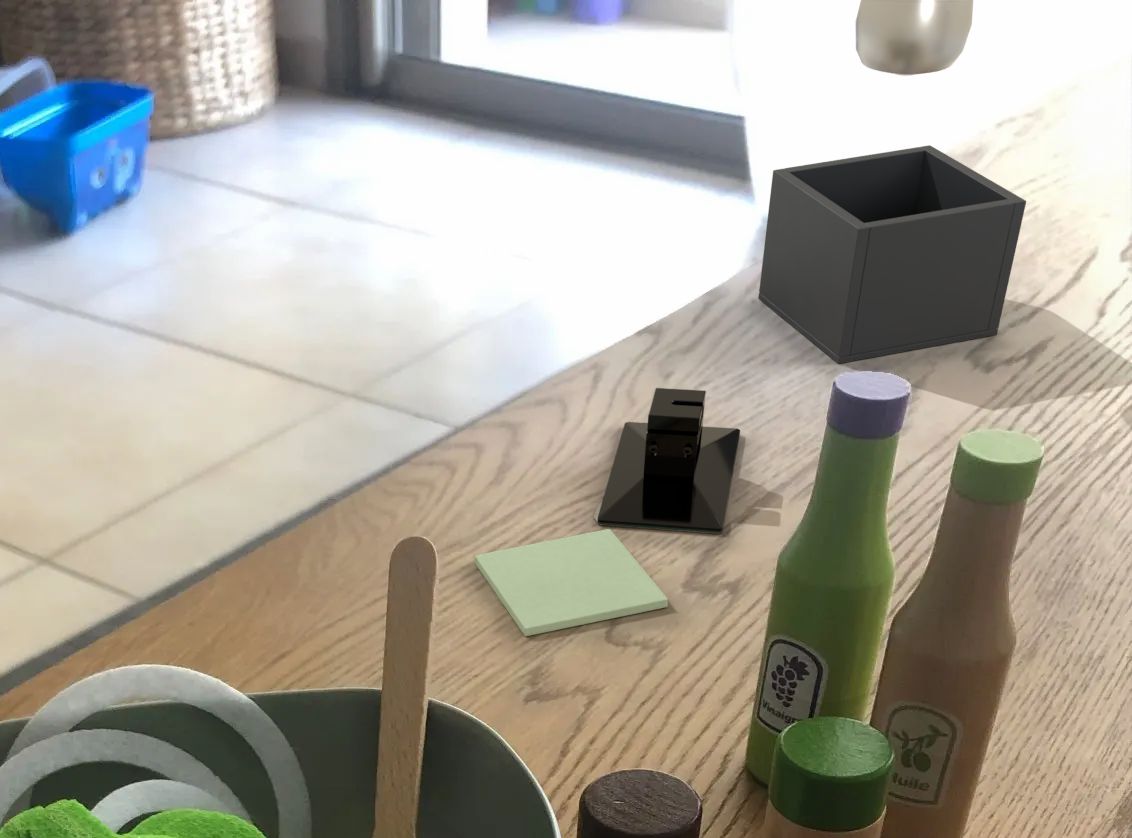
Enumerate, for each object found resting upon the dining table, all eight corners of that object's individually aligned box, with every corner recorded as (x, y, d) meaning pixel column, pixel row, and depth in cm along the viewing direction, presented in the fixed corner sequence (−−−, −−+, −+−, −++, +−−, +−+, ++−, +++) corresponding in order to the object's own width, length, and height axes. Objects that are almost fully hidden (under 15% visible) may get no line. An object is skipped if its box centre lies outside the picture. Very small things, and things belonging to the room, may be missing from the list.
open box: (907, 272, 116) (930, 144, 110) (997, 334, 108) (1026, 200, 102) (757, 298, 113) (772, 169, 108) (838, 363, 105) (858, 228, 100)
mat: (609, 536, 91) (610, 528, 91) (668, 607, 86) (668, 598, 85) (474, 563, 90) (474, 555, 89) (525, 636, 84) (525, 628, 84)
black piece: (722, 536, 91) (730, 458, 87) (591, 527, 92) (595, 449, 89) (740, 433, 99) (748, 358, 96) (620, 426, 101) (624, 352, 97)
